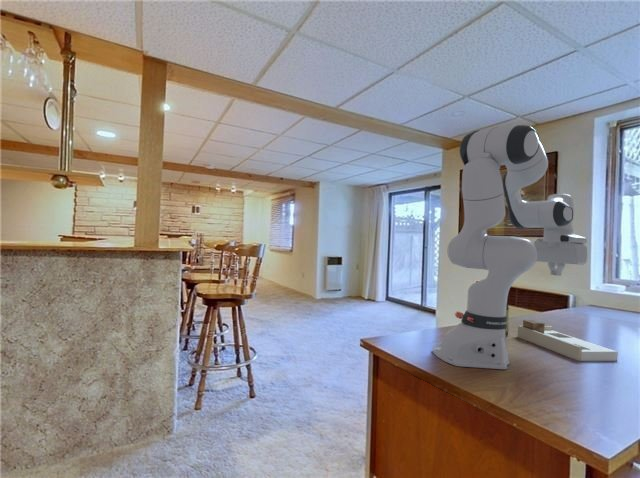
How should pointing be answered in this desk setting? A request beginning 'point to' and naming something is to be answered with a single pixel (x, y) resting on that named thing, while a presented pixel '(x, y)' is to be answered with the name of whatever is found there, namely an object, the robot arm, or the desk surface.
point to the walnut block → (534, 325)
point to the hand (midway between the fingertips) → (555, 275)
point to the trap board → (567, 345)
